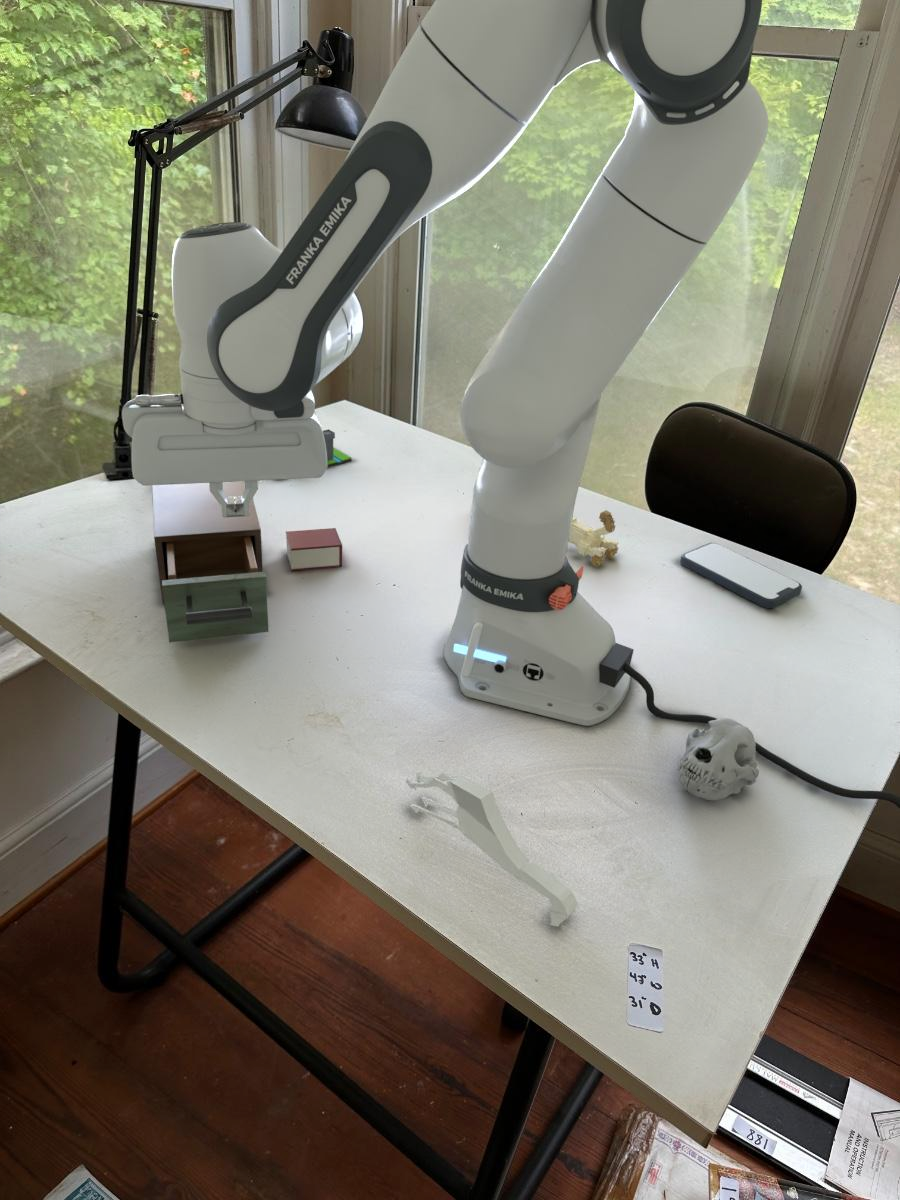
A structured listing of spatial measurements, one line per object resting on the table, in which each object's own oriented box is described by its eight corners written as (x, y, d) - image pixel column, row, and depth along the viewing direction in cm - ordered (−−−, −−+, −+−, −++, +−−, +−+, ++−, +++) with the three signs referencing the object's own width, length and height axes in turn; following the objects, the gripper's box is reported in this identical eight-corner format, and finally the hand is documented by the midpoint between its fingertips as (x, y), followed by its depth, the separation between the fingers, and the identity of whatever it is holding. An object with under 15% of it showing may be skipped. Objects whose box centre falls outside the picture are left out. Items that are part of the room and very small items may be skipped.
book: (342, 566, 118) (342, 544, 116) (291, 571, 116) (290, 548, 114) (335, 549, 122) (335, 527, 120) (286, 553, 120) (285, 531, 118)
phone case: (675, 564, 126) (768, 612, 116) (677, 554, 126) (771, 602, 115) (711, 549, 131) (803, 594, 121) (713, 540, 131) (806, 584, 120)
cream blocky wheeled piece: (621, 558, 129) (497, 490, 141) (636, 508, 124) (506, 442, 136) (584, 580, 122) (457, 507, 134) (598, 528, 117) (465, 457, 129)
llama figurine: (425, 869, 82) (570, 935, 69) (400, 766, 79) (546, 815, 66) (438, 859, 84) (583, 923, 70) (414, 757, 80) (561, 803, 67)
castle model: (231, 449, 149) (228, 409, 145) (303, 433, 158) (302, 394, 154) (277, 480, 140) (276, 437, 136) (351, 460, 149) (351, 420, 145)
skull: (784, 753, 88) (769, 732, 78) (734, 823, 88) (713, 811, 78) (719, 711, 92) (697, 686, 82) (671, 777, 92) (644, 761, 82)
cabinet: (264, 594, 110) (260, 529, 105) (162, 604, 107) (154, 537, 102) (251, 538, 123) (247, 477, 118) (159, 544, 119) (152, 482, 114)
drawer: (273, 655, 98) (271, 599, 94) (170, 667, 95) (163, 609, 91) (255, 571, 113) (252, 519, 109) (165, 579, 110) (159, 525, 106)
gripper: (117, 406, 82) (135, 533, 89) (329, 401, 87) (330, 522, 94) (120, 385, 87) (137, 507, 94) (321, 382, 92) (322, 497, 99)
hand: (235, 514), depth 94 cm, fingers closed
